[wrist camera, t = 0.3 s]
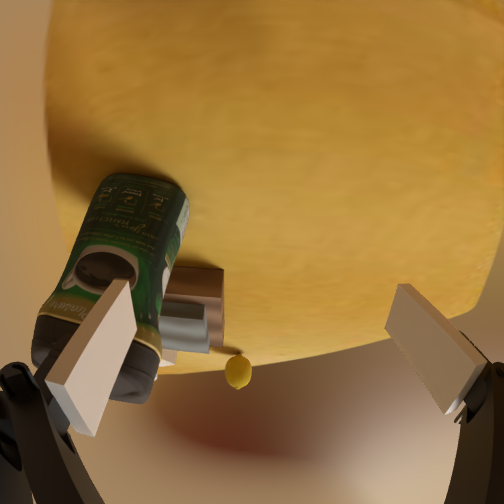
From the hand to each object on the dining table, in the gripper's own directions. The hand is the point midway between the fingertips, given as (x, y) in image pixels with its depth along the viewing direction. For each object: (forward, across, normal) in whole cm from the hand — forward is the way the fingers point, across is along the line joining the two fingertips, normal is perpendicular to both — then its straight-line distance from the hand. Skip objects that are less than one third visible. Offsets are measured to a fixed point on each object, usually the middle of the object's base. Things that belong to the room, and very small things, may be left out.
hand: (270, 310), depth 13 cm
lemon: (+35, 0, -34) cm, 49 cm away
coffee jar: (+16, -10, +2) cm, 20 cm away
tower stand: (+25, -10, -14) cm, 31 cm away
